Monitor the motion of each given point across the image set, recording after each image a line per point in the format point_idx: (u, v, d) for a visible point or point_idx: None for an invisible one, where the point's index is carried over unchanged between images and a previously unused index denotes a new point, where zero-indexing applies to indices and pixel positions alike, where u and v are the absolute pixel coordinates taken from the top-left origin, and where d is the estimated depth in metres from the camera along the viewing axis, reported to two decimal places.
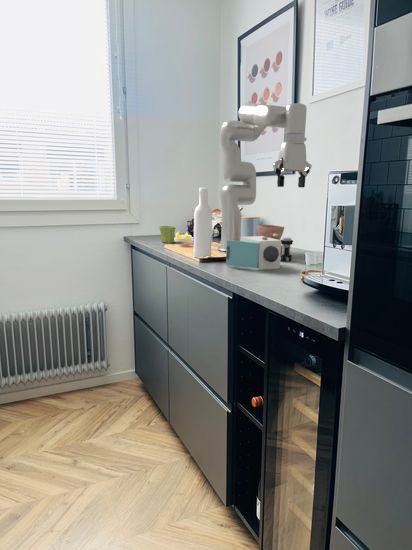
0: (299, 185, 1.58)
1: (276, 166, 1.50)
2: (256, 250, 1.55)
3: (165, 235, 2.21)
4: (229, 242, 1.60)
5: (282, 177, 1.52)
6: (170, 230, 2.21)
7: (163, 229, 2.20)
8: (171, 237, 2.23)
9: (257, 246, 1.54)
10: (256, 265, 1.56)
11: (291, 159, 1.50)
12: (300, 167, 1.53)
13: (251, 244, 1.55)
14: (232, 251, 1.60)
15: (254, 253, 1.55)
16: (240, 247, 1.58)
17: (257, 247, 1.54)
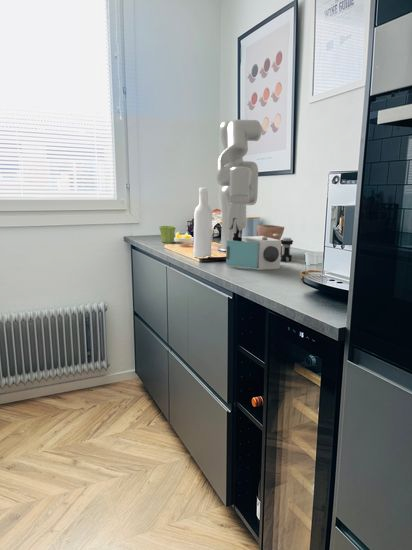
0: None
1: (236, 232, 1.56)
2: (256, 250, 1.55)
3: (165, 235, 2.21)
4: (229, 242, 1.60)
5: (239, 239, 1.60)
6: (170, 230, 2.21)
7: (163, 229, 2.20)
8: (171, 237, 2.23)
9: (257, 246, 1.54)
10: (256, 265, 1.56)
11: (242, 219, 1.56)
12: (244, 225, 1.61)
13: (251, 244, 1.55)
14: (232, 251, 1.60)
15: (254, 253, 1.55)
16: (240, 247, 1.58)
17: (257, 247, 1.54)
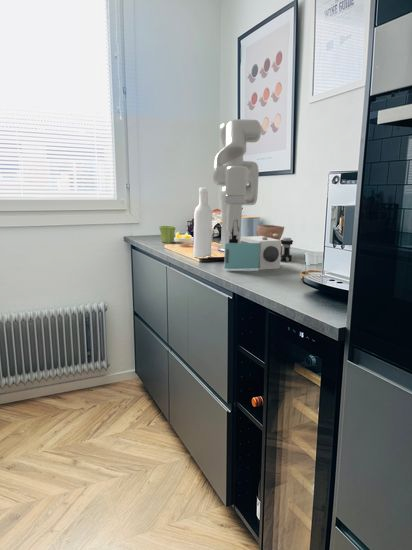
0: None
1: (236, 234, 1.50)
2: (258, 250, 1.54)
3: (165, 235, 2.21)
4: (228, 245, 1.52)
5: (236, 240, 1.54)
6: (170, 230, 2.21)
7: (163, 229, 2.20)
8: (171, 237, 2.23)
9: (259, 246, 1.54)
10: (258, 265, 1.55)
11: None
12: None
13: (252, 245, 1.53)
14: (231, 254, 1.53)
15: (256, 254, 1.54)
16: (240, 249, 1.53)
17: (259, 247, 1.54)
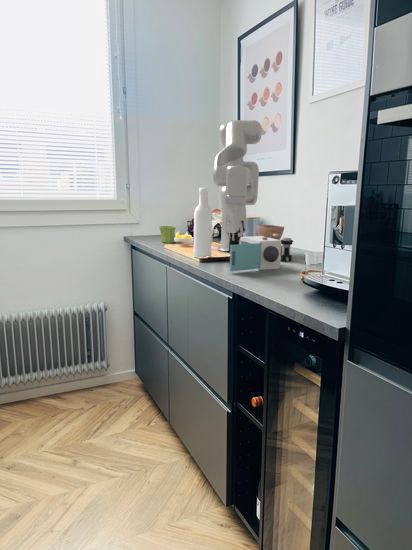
0: None
1: None
2: (259, 250, 1.54)
3: (165, 235, 2.21)
4: (234, 247, 1.48)
5: (238, 242, 1.52)
6: (170, 230, 2.21)
7: (163, 229, 2.20)
8: (171, 237, 2.23)
9: (260, 246, 1.54)
10: (259, 265, 1.55)
11: None
12: None
13: (254, 245, 1.52)
14: (236, 256, 1.49)
15: (257, 254, 1.54)
16: (245, 250, 1.51)
17: (260, 247, 1.54)
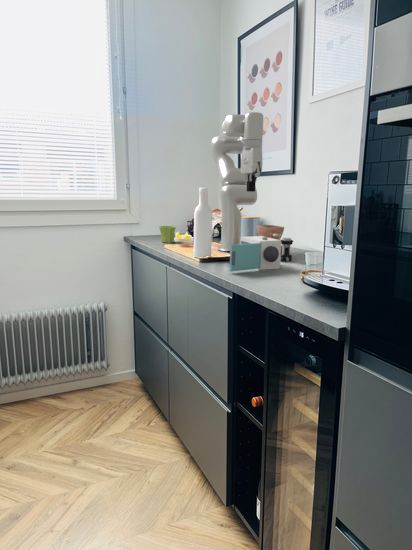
0: None
1: None
2: (259, 250, 1.54)
3: (165, 235, 2.21)
4: (234, 247, 1.48)
5: (254, 183, 1.69)
6: (170, 230, 2.21)
7: (163, 229, 2.20)
8: (171, 237, 2.23)
9: (260, 246, 1.54)
10: (259, 265, 1.55)
11: None
12: None
13: (254, 245, 1.52)
14: (236, 256, 1.49)
15: (257, 254, 1.54)
16: (245, 250, 1.51)
17: (260, 247, 1.54)
